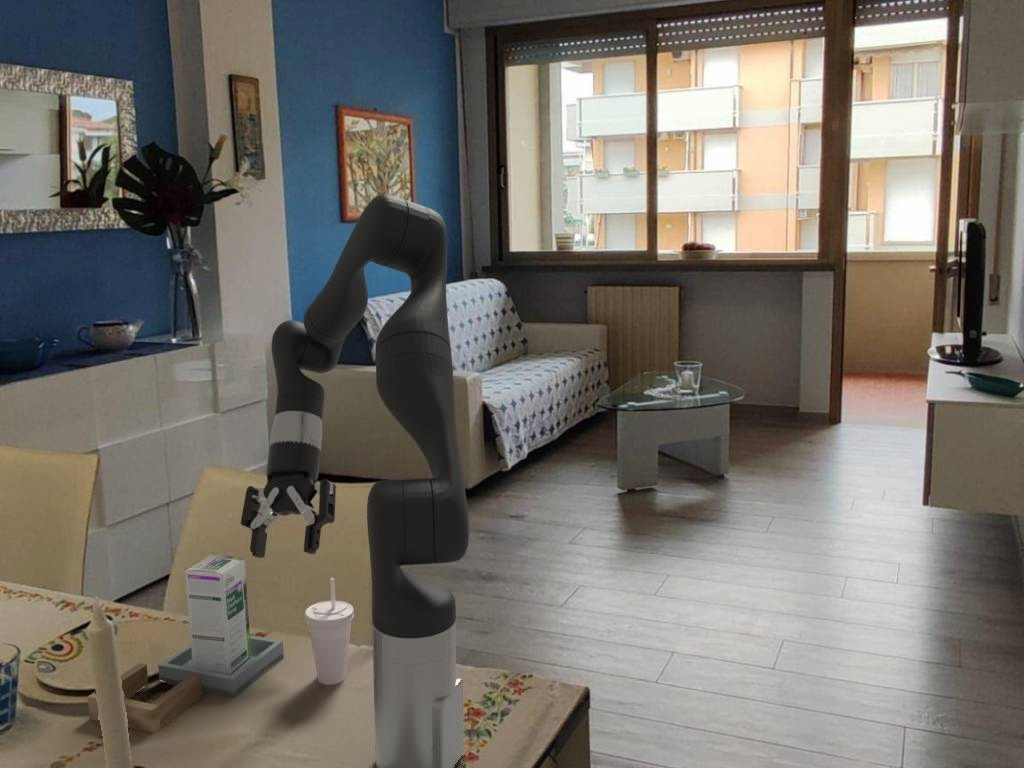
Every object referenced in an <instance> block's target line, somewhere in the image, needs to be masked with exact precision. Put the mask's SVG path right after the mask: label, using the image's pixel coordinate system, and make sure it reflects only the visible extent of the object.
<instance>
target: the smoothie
mask: <svg viewBox="0 0 1024 768" xmlns="http://www.w3.org/2000/svg"><path fill="white" fill-rule="evenodd" d="M335 581H336V579H335V578H334V577H331V578H330V581H329V582H330V583H329V584H330V600H326V601H325V600H324V601H320V602H317V603H314V604H312V605H310V606H308V607H307V608H306V610H305V612H304V621H305V622H306V624H307V625H308V631H309V636H310V642H311V648H312V655H313V659H314V666H315V671H316V676H317V677H316V678H317V681H318V683H320V684H323V685H326V686H327V685H328V686H330V685H331V686H332V685H336V684H337V685H338V684H340V683H343V682H344V681H345V679H346V677H347V669H348V668H347V666H348V658H349V657H348V656H349V648H350V646H349V645H350V636H351V627H352V620H353V619H354V616H355V613H354V606H353V605H351V604H350V603H349V602H347V601H346V602H345V601H342V600H336V582H335Z"/></svg>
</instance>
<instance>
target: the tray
mask: <svg viewBox="0 0 1024 768" xmlns="http://www.w3.org/2000/svg"><path fill="white" fill-rule="evenodd" d="M250 644H251V656H250V657H249V658H248V659H247V660H246V661H244V662H243V663H242V664H241V665H240V666H239V667H238V668H236V669H235V670H234V671H233V672H232V673H231V674H230V675H226V674H221V673H215V672H210V671H205V670H200V669H195V668H193V663H192V651H191V642H190V643H188V644H187V645H185V647H183V648H181V649H180V650H178V651H177V652H176V653H174V654H173V655H171V656H169V657H168V658H166V659H165V660H164V661H162V662H161V663H159V664H158V666H157V667H158V678H159V679H161V680H163V681H165V682H166V683H168V684H167V685H171V686H174V687H175V686H176V685H177V684H179V683H180V682H182V681H183V680H184V679H186V678H187V677H189V676H190V675H191V674H198V675H201V688H202V692H205V693H210V694H215V695H220V696H225V697H230V698H236V697H237V696H238V695H239V694H240V693H242V692H243V691H244V690H245V689H246V688H247V687H249V686H250V685H251V684H253V683H254V682H255V681H256V680H258V679H259V678H260V677H261V676H262V675H264V674H266V672H268V671H269V670H270V669H272V668H273V667H275V665H277V664H278V663H279V662H280V661H281V660H283V659H284V655H285V653H284V641H283V640H279V639H274V638H273V639H272V638H267V637H263V636H262V637H261V636H257V635H256V636H255V635H252V634H250Z"/></svg>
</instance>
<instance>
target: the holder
mask: <svg viewBox="0 0 1024 768" xmlns="http://www.w3.org/2000/svg"><path fill="white" fill-rule="evenodd" d="M120 675H121V680H122V684H123V690H124V695H125V698H124V699H125V706H126V712H127V719H128V725H129V728H128V729H133V730H137V731H141V732H146V733H150V734H156V732H158V731H159V730H160V729H161V728H163V727H164V726H165V725H167V724H168V723H170V721H173V719H174V718H176V717H177V716H178V715H180V714H181V713H182V712H183V711H185V710H186V709H189V707H190V706H191V705H193V704H194V703H196V702H197V701H198V700H200V699H201V698H202V697H203V693H202V692H203V691H202V688H201V675H198V674H191V675H190V676H189V677H187V678H186V679H184V680H183V681H182V682H180V683H179V684H177V685H176V686H175V685H174V686H173V687H172V688H171V689H170V690H167V691H166V692H165V693H164V694H162V695H161V696H159V697H158V698H157V699H155V700H154V701H152V702H151V703H149V702H143V701H141V700H140V701H139V700H136V699H131V698H133V697H134V696H136V695H135V693H136V692H137V691H138V690H140V689H141V688H142V687H143V686H145V685H146V684H147V683H148V684H149V675H148V664H146V663H141V662H139V663H138V664H137V663H136V665H134V666H133V667H131V668H129V669H128V670H126V671H125V672H124V673H122V674H120ZM95 692H96V691H94V692H92V693H91V694H89V695H88V696H87V701H88V702H87V704H88V716H89V720H93V721H96V722H97V721H98V710H97V702H96V694H95ZM98 722H99V721H98Z"/></svg>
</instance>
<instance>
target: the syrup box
mask: <svg viewBox="0 0 1024 768" xmlns="http://www.w3.org/2000/svg"><path fill="white" fill-rule="evenodd" d="M184 575H185V585H186V586H185V589H186V602H187V612H188V626H189V635H190V636H189V638H190V643H191V651H192V663H193V668H195V669H200V670H205V671H210V672H215V673H221V674H226V675H230V674H231V673H232V672H233V671H234V670H235V669H236V668H238V667H239V666H240V665H241V664H242V663H243V662H244V661H246V660H247V659H248V658H249V657H250V656H251V644H250V635H251V632H250V631H251V630H250V619H249V618H250V617H249V602H248V587H247V574H246V560H245V559H244V558H243V557H237V556H232V555H222V554H221V555H217V554H216V555H215V554H214V555H213V554H212V555H211V554H208V555H207V556H206V557H205V558H204V559H203V560H201V561H198V562H197V563H195V564H194V565H193V566H191V567H190V568H188V569H186V570H185V571H184Z"/></svg>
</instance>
